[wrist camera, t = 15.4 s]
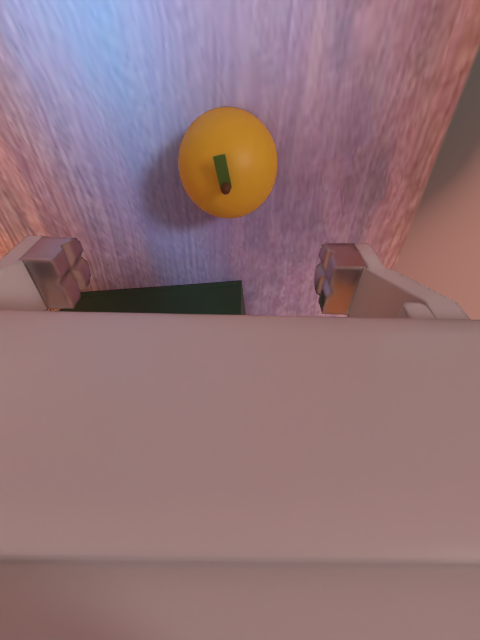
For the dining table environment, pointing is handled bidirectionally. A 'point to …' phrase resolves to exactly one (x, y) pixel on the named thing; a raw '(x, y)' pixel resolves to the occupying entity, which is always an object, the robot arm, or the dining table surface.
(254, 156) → the orange
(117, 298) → the crate
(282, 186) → the dining table surface
